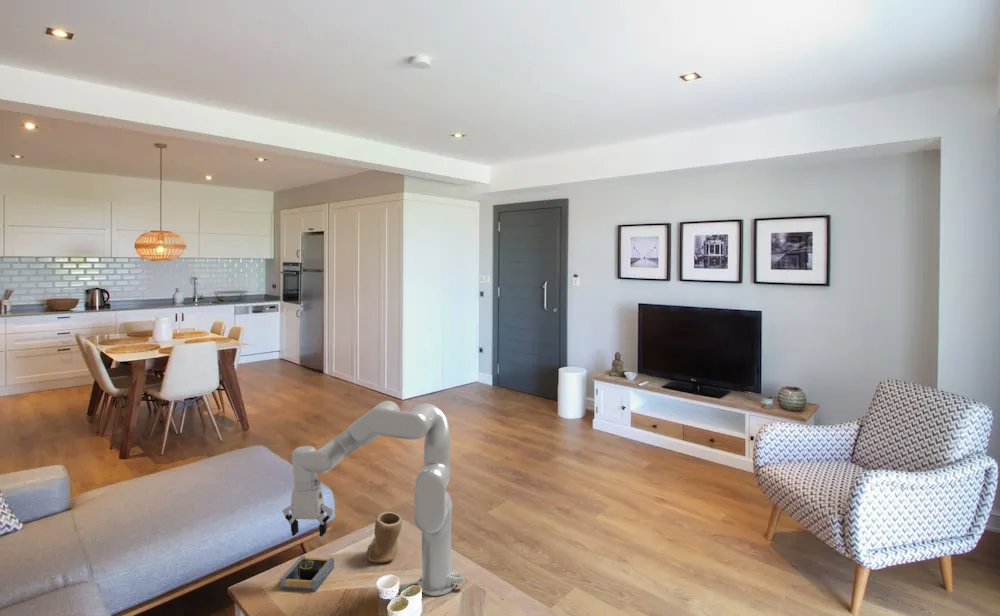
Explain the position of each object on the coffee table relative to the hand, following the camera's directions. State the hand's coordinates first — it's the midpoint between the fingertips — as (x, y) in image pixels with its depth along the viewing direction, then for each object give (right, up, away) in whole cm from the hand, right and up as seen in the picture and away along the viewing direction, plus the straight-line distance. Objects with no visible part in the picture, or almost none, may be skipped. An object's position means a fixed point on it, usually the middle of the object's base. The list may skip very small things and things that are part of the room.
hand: (309, 534), depth 180 cm
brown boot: (+22, -14, +16) cm, 31 cm away
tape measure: (0, -14, +1) cm, 14 cm away
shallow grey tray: (-1, -15, +1) cm, 15 cm away
